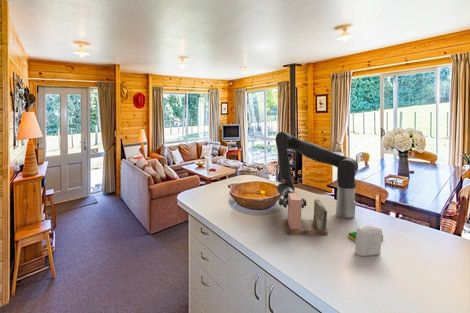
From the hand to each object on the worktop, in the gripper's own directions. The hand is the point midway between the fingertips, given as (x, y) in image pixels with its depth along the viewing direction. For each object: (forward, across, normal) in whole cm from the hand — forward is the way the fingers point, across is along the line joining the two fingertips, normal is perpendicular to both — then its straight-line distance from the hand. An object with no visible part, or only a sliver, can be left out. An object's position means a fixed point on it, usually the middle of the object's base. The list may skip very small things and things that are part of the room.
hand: (294, 206), depth 133 cm
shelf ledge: (+1, +5, +12) cm, 13 cm away
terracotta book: (0, 0, +10) cm, 10 cm away
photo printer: (+24, +27, +12) cm, 38 cm away
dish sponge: (+10, +32, +12) cm, 36 cm away
